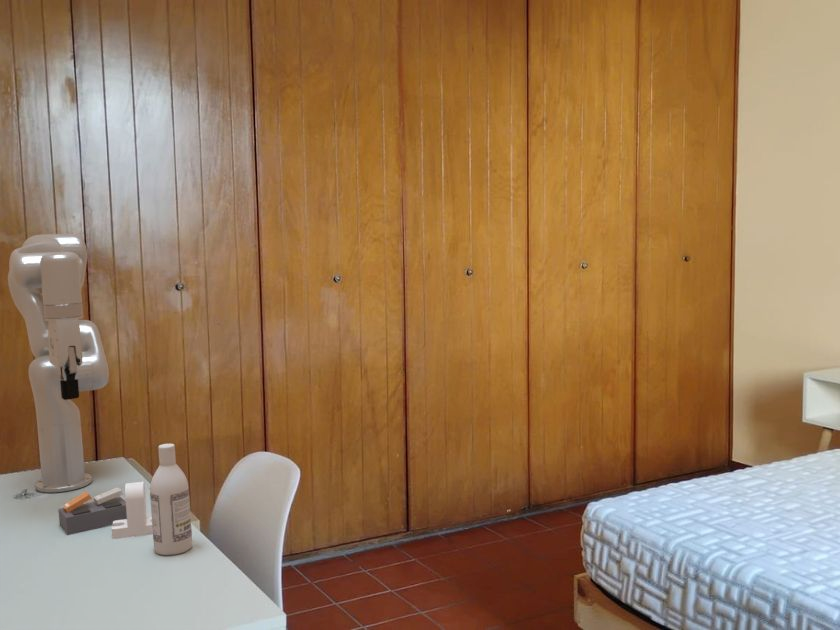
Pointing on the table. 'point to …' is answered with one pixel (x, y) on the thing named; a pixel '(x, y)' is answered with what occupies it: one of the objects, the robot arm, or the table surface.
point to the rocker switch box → (92, 515)
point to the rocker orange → (76, 502)
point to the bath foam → (170, 505)
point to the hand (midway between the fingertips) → (70, 398)
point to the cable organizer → (133, 514)
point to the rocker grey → (108, 495)
